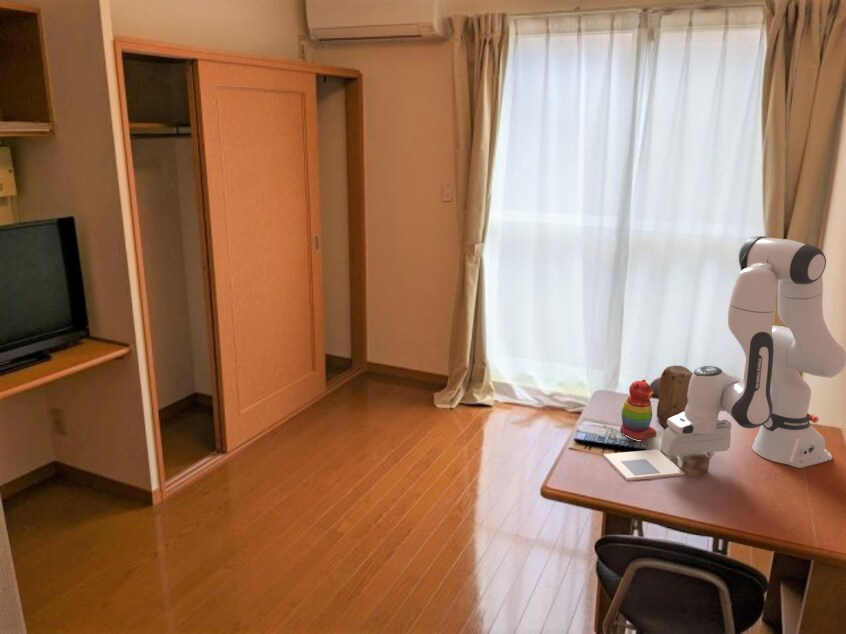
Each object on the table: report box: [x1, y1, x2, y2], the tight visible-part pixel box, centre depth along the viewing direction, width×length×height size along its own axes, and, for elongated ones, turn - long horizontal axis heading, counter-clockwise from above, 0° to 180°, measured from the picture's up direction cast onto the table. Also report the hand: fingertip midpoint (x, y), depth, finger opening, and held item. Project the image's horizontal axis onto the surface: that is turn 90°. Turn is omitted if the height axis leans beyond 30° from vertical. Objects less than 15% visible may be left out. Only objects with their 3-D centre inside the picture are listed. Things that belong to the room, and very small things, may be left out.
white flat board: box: [602, 449, 685, 482], centre depth 195 cm, size 18×14×1 cm
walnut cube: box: [676, 453, 711, 477], centre depth 193 cm, size 6×6×5 cm
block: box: [656, 365, 693, 429], centre depth 220 cm, size 11×8×20 cm
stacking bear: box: [619, 379, 657, 442], centre depth 213 cm, size 11×10×18 cm
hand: (692, 465), depth 193 cm, fingers closed on walnut cube, 6 cm apart
